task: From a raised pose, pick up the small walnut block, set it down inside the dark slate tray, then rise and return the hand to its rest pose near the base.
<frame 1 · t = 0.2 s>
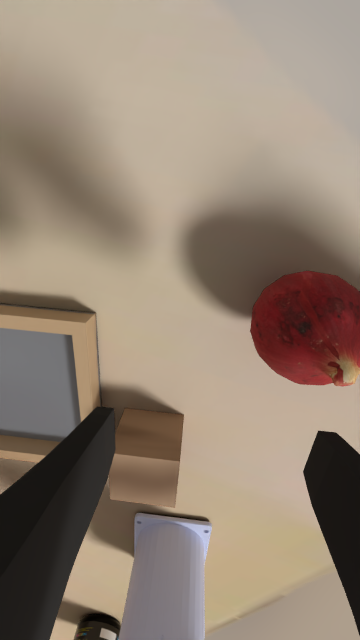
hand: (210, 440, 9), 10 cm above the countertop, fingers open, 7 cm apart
onion: (285, 302, 17), on the countertop
walnut block: (153, 432, 23), on the countertop
slate tray: (18, 382, 22), on the countertop
supplement container: (102, 621, 39), on the countertop
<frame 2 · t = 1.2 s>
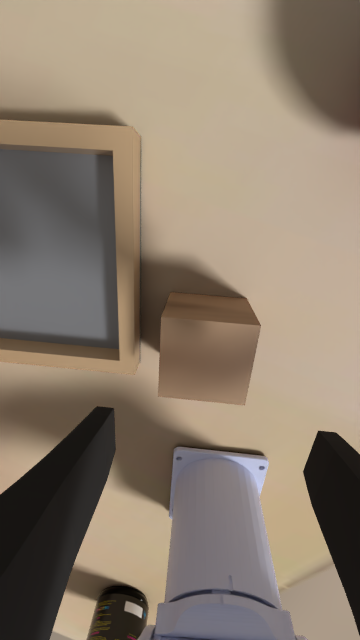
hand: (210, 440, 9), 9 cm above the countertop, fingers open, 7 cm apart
walnut block: (204, 328, 18), on the countertop
slate tray: (34, 258, 17), on the countertop
supplement container: (124, 595, 34), on the countertop
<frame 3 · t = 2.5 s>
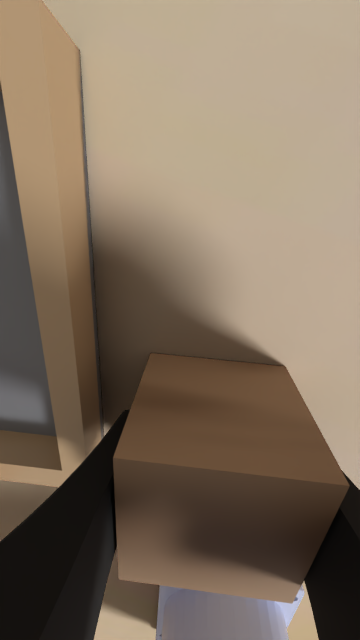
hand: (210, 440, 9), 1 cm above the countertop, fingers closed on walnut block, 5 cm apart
walnut block: (209, 412, 11), on the countertop, touching gripper
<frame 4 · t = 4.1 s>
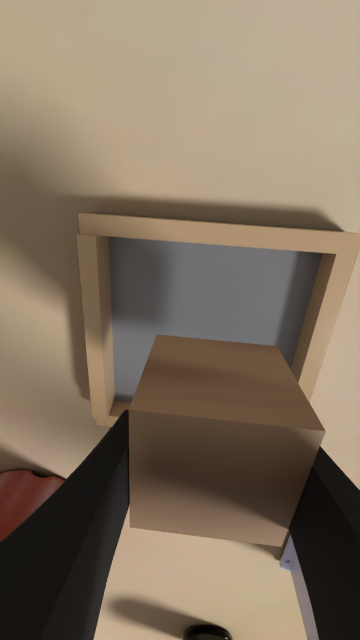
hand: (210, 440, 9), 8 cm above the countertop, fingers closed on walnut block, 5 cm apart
flower pot: (43, 507, 26), on the countertop
walnut block: (209, 389, 12), point 6 cm above the countertop, touching gripper
slate tray: (203, 335, 17), on the countertop
supplement container: (208, 633, 34), on the countertop
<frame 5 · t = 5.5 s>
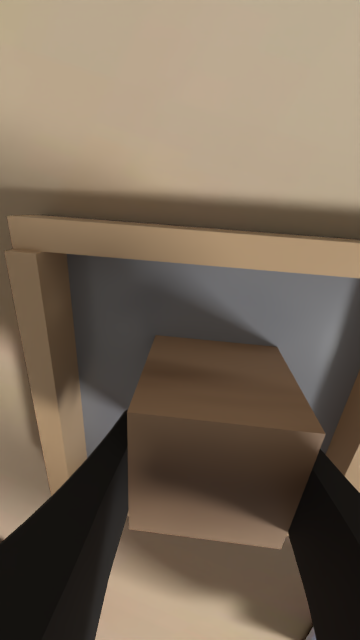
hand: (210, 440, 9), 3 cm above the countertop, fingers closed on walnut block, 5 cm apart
walnut block: (208, 390, 12), resting on slate tray, touching gripper
slate tray: (208, 389, 12), on the countertop
when the fingers open (3 cm above the countertop, at t = 5.7 s): walnut block stays where it is, resting on slate tray.
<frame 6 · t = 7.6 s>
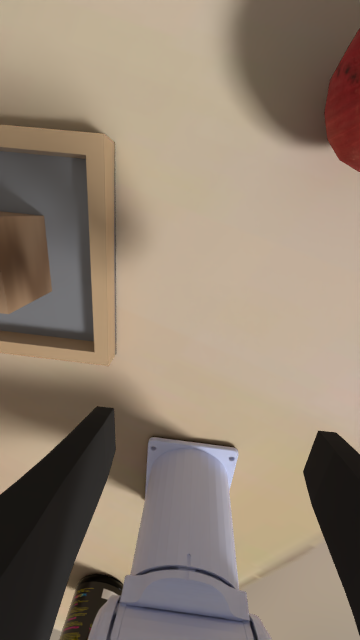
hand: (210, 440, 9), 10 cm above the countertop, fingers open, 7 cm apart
onion: (355, 120, 14), on the countertop
walnut block: (12, 251, 18), resting on slate tray
slate tray: (15, 253, 18), on the countertop
supplement container: (103, 584, 35), on the countertop
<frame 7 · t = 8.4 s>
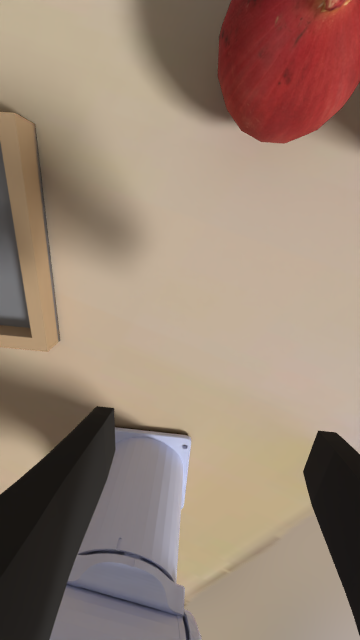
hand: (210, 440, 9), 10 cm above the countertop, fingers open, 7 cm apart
onion: (267, 95, 14), on the countertop
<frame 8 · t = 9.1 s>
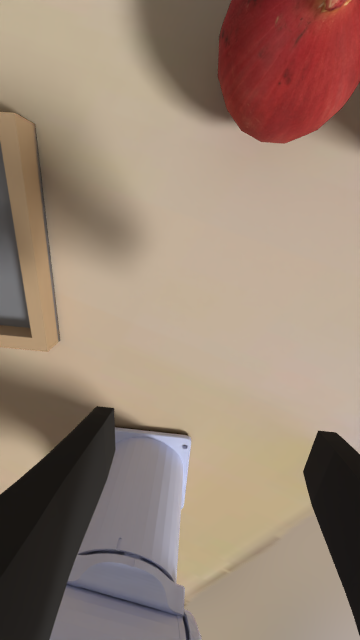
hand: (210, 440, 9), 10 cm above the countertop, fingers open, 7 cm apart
onion: (267, 95, 14), on the countertop
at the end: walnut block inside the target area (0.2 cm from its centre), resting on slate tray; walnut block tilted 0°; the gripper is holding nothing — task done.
